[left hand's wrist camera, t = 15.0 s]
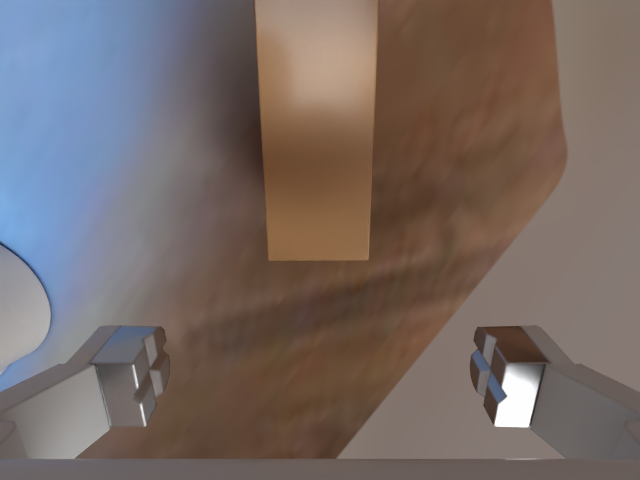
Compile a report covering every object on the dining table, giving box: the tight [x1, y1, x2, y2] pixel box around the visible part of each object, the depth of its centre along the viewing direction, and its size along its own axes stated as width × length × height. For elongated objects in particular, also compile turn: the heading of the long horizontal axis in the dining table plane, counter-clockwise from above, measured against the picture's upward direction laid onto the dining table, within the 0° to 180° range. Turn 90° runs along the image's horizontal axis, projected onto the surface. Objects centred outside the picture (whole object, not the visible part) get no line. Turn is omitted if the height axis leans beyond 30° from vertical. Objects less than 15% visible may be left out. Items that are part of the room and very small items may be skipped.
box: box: [254, 0, 379, 261], centre depth 26 cm, size 26×6×13 cm, turn 0°
